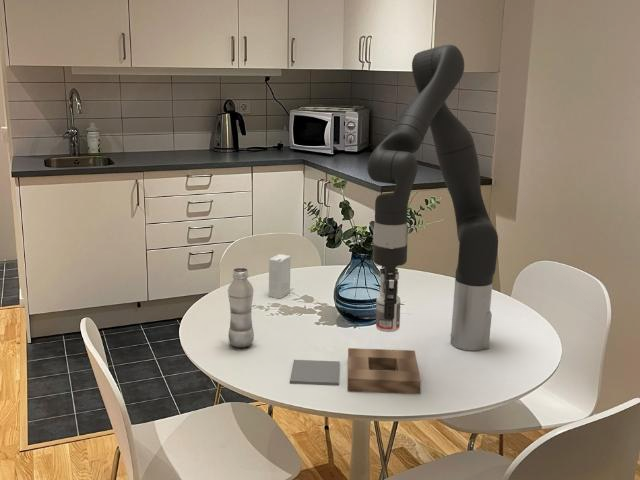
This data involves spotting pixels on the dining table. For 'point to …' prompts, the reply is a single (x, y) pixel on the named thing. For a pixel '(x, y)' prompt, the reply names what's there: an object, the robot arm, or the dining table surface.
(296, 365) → the charcoal mat
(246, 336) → the plastic bottle
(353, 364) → the walnut dock
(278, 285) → the skincare box
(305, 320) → the dining table surface
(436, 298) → the dining table surface
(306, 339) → the dining table surface
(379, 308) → the pill bottle
